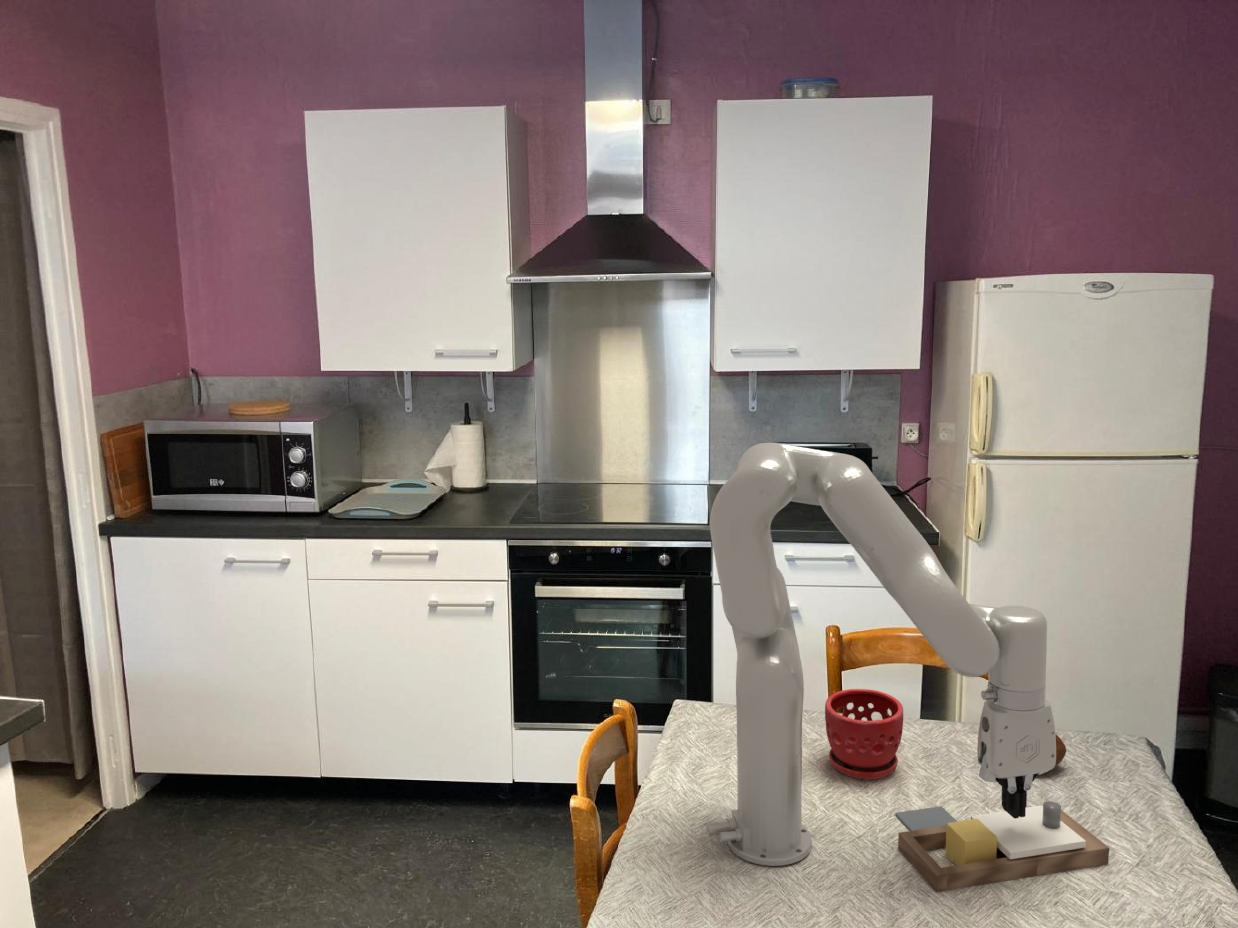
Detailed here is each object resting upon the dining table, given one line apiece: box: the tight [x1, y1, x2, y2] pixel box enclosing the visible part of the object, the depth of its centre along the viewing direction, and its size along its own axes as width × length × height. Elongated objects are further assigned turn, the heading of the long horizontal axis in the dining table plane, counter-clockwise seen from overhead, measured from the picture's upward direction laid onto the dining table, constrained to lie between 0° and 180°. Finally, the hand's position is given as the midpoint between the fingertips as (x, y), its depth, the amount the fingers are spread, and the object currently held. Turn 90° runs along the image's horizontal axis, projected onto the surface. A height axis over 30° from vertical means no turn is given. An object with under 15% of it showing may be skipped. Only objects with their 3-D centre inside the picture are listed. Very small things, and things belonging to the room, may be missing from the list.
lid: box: [970, 800, 1086, 859], centre depth 142 cm, size 12×10×4 cm
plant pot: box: [824, 688, 904, 780], centre depth 168 cm, size 13×13×12 cm
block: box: [944, 819, 998, 865], centre depth 140 cm, size 5×5×5 cm
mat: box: [894, 805, 958, 831], centre depth 150 cm, size 8×8×1 cm
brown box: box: [897, 809, 1110, 893], centre depth 142 cm, size 27×11×2 cm, turn 102°
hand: (1013, 812), depth 141 cm, fingers closed
